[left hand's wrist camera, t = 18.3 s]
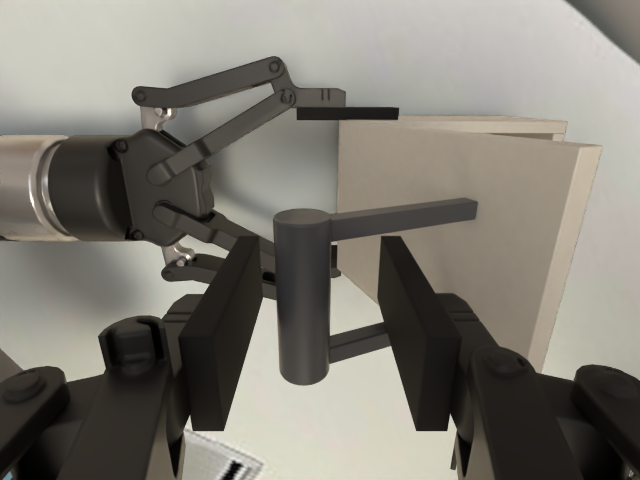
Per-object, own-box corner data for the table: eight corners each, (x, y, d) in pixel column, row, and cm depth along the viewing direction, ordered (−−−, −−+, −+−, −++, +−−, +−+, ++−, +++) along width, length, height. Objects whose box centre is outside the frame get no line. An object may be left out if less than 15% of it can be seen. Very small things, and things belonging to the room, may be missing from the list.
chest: (500, 115, 31) (568, 121, 23) (481, 224, 35) (534, 264, 26) (339, 115, 31) (346, 120, 23) (336, 223, 35) (342, 264, 26)
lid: (603, 145, 10) (323, 164, 7) (530, 415, 14) (320, 511, 10) (354, 120, 22) (211, 123, 19) (349, 266, 26) (227, 288, 23)
